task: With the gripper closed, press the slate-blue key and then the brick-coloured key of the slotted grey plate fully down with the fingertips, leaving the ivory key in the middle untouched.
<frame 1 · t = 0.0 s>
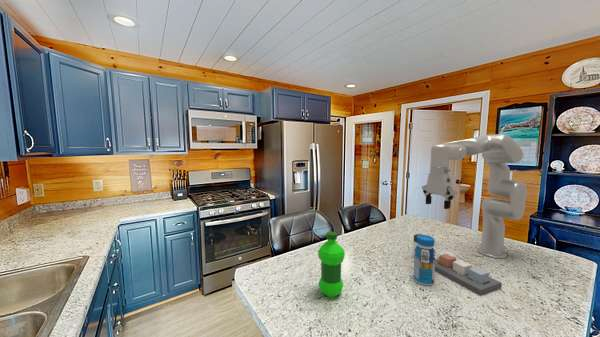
hand: (437, 206, 111), 31 cm above the countertop, fingers open, 9 cm apart
beverage bottle: (423, 281, 103), on the countertop
slotted grey plate: (461, 276, 106), on the countertop
brick key: (447, 260, 112), point 5 cm above the countertop, slide at 0.0 cm
ivory key: (461, 267, 105), point 5 cm above the countertop, slide at 0.0 cm
slate key: (478, 275, 99), point 5 cm above the countertop, slide at 0.0 cm
plastic bottle: (330, 293, 94), on the countertop
jar: (421, 258, 124), on the countertop
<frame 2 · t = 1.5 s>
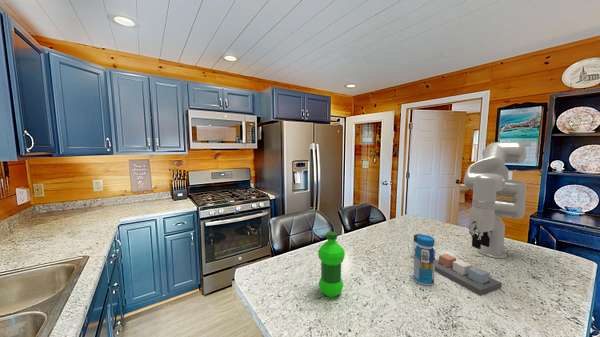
hand: (480, 246, 98), 17 cm above the countertop, fingers open, 4 cm apart
nothing on the countertop moved.
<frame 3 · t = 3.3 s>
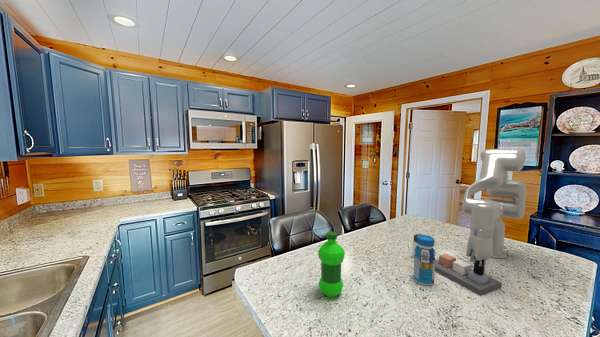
hand: (478, 273, 99), 5 cm above the countertop, fingers closed
slate key: (478, 278, 99), point 3 cm above the countertop, slide at 1.2 cm, touching gripper
everything else where it was.
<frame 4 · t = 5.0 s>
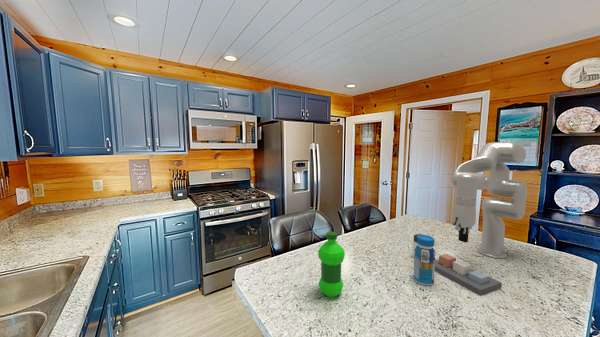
hand: (463, 241, 105), 17 cm above the countertop, fingers closed
slate key: (478, 278, 99), point 3 cm above the countertop, slide at 1.5 cm
everything else where it was.
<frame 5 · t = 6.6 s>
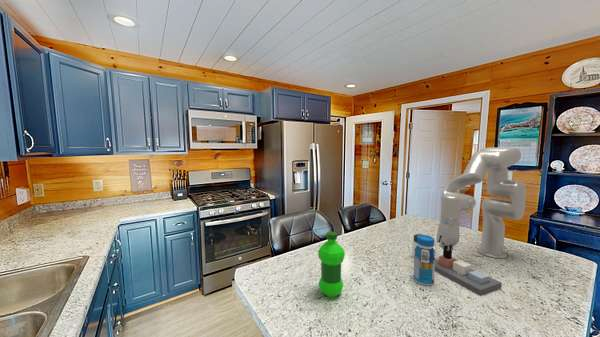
hand: (447, 257, 112), 6 cm above the countertop, fingers closed
brick key: (447, 261, 112), point 4 cm above the countertop, slide at 0.5 cm, touching gripper
everything else where it was.
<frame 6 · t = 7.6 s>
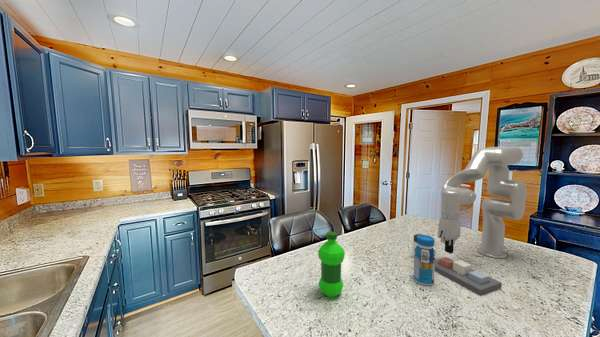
hand: (448, 252, 112), 9 cm above the countertop, fingers closed
brick key: (447, 263, 112), point 3 cm above the countertop, slide at 1.6 cm
everything else where it was.
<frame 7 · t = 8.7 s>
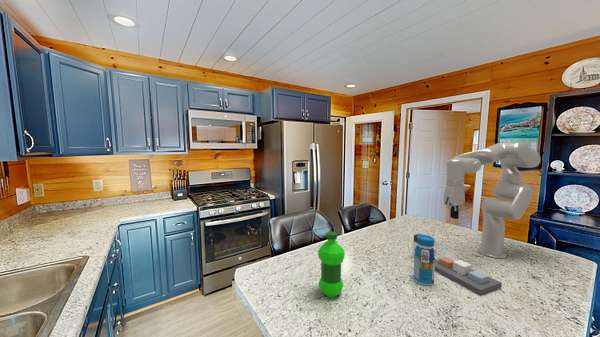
hand: (454, 218, 119), 23 cm above the countertop, fingers closed
nothing on the countertop moved.
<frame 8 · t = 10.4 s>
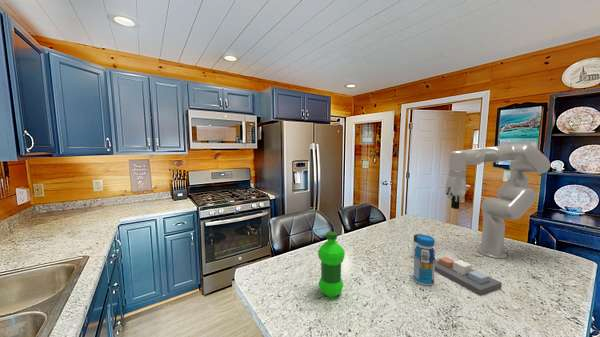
hand: (455, 208, 123), 27 cm above the countertop, fingers closed
nothing on the countertop moved.
at the end: slate key slide at 1.5 cm; brick key slide at 1.6 cm; ivory key slide at 0.0 cm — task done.
